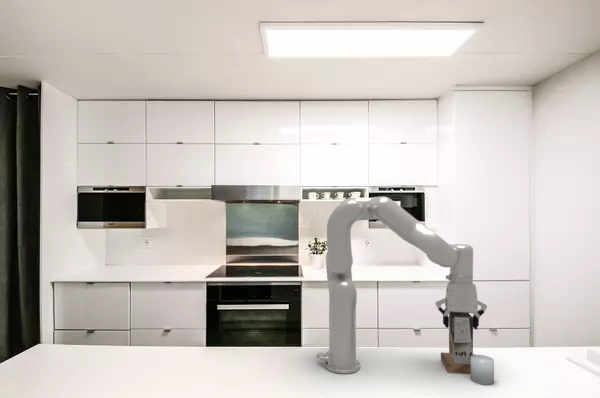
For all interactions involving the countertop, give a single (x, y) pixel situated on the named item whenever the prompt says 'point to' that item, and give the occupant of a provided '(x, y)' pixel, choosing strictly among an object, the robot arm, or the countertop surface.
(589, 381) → the countertop surface
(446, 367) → the walnut slab
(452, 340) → the coffee box
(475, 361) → the pale grey rounded cylinder
